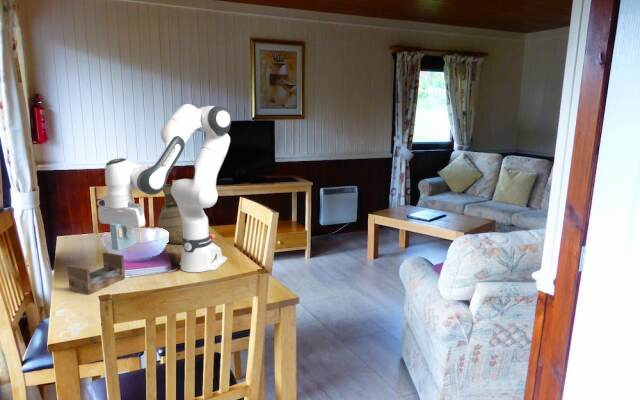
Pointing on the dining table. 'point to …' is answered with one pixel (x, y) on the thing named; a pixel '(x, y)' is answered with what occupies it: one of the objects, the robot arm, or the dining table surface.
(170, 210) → the ceramic vessel
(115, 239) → the door panel
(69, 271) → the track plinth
